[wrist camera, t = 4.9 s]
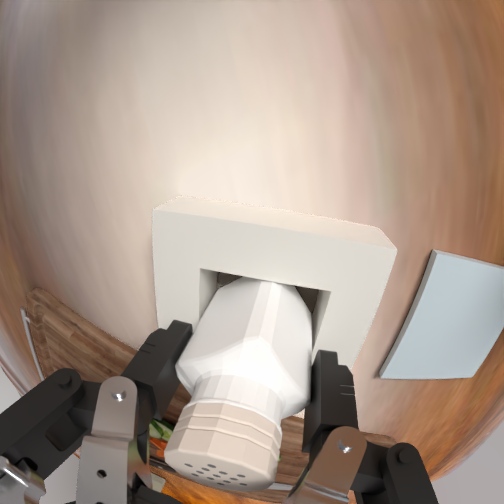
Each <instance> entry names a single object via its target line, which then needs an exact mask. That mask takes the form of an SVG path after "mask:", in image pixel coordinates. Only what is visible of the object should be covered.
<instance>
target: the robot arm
mask: <svg viewBox="0 0 504 504" xmlns="http://www.w3.org/2000/svg"><path fill="white" fill-rule="evenodd" d="M192 334H193V327H192V324H190V323H186V322H182V321H179V320H173V321H172V323H171V324H170V326H169V327H168V328H167V330H166V329H162V328H159V329H158V330H156V331H154V332H153V333H151V334H150V335H149V337H148V338H147V339H146V341H145V342H144V344H143V345H142V346H141V348H140V350H139V351H138V352H137V353H136V354H135V356H134V357H133V359H132V360H131V361H130V363H129V364H128V366H127V367H126V368H125V370H124V371H123V373H122V374H121V375H120V376H115V377H111V378H108V379H107V380H105V381H104V382H103V383H98V382H92V381H85V380H82V379H81V377H80V375H79V373H78V372H77V371H75V370H74V369H71V368H62V369H59V370H57V371H55V372H54V373H53V374H51V375H50V376H49V377H47V378H46V379H45V380H43V381H42V382H41V383H39V384H38V385H37V386H36V387H34V388H33V389H32V390H30V391H29V392H28V393H26V394H25V395H24V396H23V397H21V398H20V399H19V400H18V401H16V402H15V403H14V404H13V405H11V406H10V407H9V408H7V409H6V410H5V411H4V412H2V413H1V414H0V504H39V500H40V497H41V496H43V495H45V494H46V489H45V485H44V480H45V479H46V478H47V477H48V476H49V475H50V474H51V473H52V472H53V471H54V470H55V469H56V468H58V467H59V466H60V465H61V464H62V463H63V462H64V461H65V460H66V459H67V458H68V457H69V456H70V455H71V454H73V453H74V452H75V451H76V450H77V449H78V448H79V447H80V446H81V445H82V447H81V453H80V461H79V470H78V479H77V491H76V501H73V502H70V503H66V504H183V503H181V502H180V501H178V500H176V499H174V498H173V497H171V496H169V495H166V494H163V493H160V492H158V491H155V490H153V485H152V477H151V473H150V467H149V436H150V427H149V425H150V423H151V421H152V419H153V418H155V419H158V420H162V418H163V416H164V414H165V412H166V410H167V408H168V406H169V404H170V402H171V400H172V398H173V396H174V394H175V392H176V390H177V388H178V386H179V384H180V382H181V381H180V380H179V378H178V376H177V372H176V368H175V365H176V362H177V360H178V359H179V357H180V355H181V353H182V351H183V350H184V348H185V346H186V344H187V343H188V341H189V339H190V337H191V335H192ZM354 395H355V391H354V382H353V375H352V373H351V372H350V370H349V369H348V367H347V365H338V356H337V352H335V351H327V350H320V349H319V350H318V351H317V354H316V356H315V359H314V362H313V364H312V377H311V402H310V404H309V405H308V406H306V407H305V415H304V429H303V442H302V453H309V462H308V463H307V464H306V466H305V468H304V469H303V471H302V473H301V474H300V476H299V478H298V479H297V481H296V483H295V484H294V486H293V487H292V489H291V490H290V492H289V493H288V495H287V496H286V498H285V499H284V501H283V502H282V503H281V504H348V503H349V498H347V495H348V492H349V490H353V491H354V494H355V498H356V502H357V504H439V503H438V501H437V498H436V495H435V492H434V490H433V487H432V484H431V482H430V479H429V476H428V474H427V471H426V469H425V466H424V464H423V461H422V459H421V457H420V454H419V452H418V450H417V449H416V448H415V447H414V446H413V445H411V444H409V443H397V444H395V445H393V446H392V447H391V448H388V447H384V446H380V445H377V444H374V443H371V442H369V441H368V440H366V438H365V436H364V435H363V433H362V432H360V431H359V428H358V420H357V409H356V400H355V396H354ZM104 477H105V478H104Z"/></svg>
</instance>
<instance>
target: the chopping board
mask: <svg viewBox="0 0 504 504" xmlns="http://www.w3.org/2000/svg"><path fill="white" fill-rule="evenodd" d="M26 304H27V311H28V315H29V317H28V316H27V312H26V309H25V308H24V307H23V306H21V307H20V310H21V314H22V319H23V323H24V327H25V331H26V334H27V338H28V341H29V345H30V348H31V351H32V355H33V358H34V361H35V364H36V367H37V369H38V372H39V375H40V378H41V380H42V381H43V380H45V377H46V378H47V377H49V376H50V375H51V374H53V373H54V372H55V371H57V370H59V369H62V368H71V369H74V370H75V371H77V372H78V373H79V375H80V377H81V379H82V380H85V381H92V382H98V383H103V382H104V381H105V380H107V379H108V378H111V377H115V376H120V375H121V374H122V373H123V371H124V370H125V368H126V367H127V366H128V364H129V363H130V361H131V360H132V359H133V357H134V356H135V354H136V353H137V352H138V351H136V350H134V349H133V348H131V347H129V346H127V345H126V344H124V343H122V342H121V341H119V340H117V339H116V338H114V337H112V336H111V335H109V334H107V333H106V332H104V331H103V330H101V329H99V328H98V327H96V326H95V325H93V324H92V323H90V322H89V321H87V320H86V319H84V318H83V317H81V316H80V315H78V314H77V313H75V312H74V311H73V310H71V309H70V308H68V307H67V306H66V305H64V304H63V303H62V302H60V301H59V300H58V299H56V298H55V297H54V296H52V295H51V294H50V293H48V292H47V291H45V290H43V289H41V288H34V289H32V290H31V291H30V292H29V293H28V295H27V296H26ZM29 323H30V325H31V329H32V333H33V337H34V341H35V344H36V348H37V352H38V355H39V358H40V362H41V365H42V368H43V371H44V374H45V377H44V374H43V371H42V368H41V365H40V362H39V359H38V356H37V352H36V349H35V345H34V342H33V338H32V334H31V330H30V326H29ZM191 398H192V396H191V395H190V394H189V392H188V391H187V390H186V388H185V387H184V385H183V384H182V383H181V382H180V384H179V386H178V388H177V390H176V392H175V394H174V396H173V398H172V400H171V402H170V404H169V406H168V408H167V410H166V412H165V414H164V416H163V418H162V420H158V419H155V418H153V419H152V421H151V423H150V425H149V427H150V436H149V465H152V466H155V467H157V468H159V469H161V470H164V471H166V472H169V473H171V474H173V475H176V476H178V477H181V478H184V479H186V480H189V481H192V482H195V483H197V484H200V485H203V486H206V487H210V488H213V489H216V490H219V491H223V492H226V493H230V494H234V495H238V496H242V497H246V498H251V499H255V500H260V501H265V502H272V503H282V502H283V501H284V499H285V498H286V496H287V495H288V493H289V492H290V490H291V489H292V487H293V486H294V484H295V483H296V481H297V479H298V478H299V476H300V474H301V473H302V471H303V469H304V468H305V466H306V464H307V463H308V462H309V453H302V442H303V429H304V419H302V418H299V417H295V416H289V417H287V418H284V419H281V424H280V427H281V429H282V440H281V447H280V449H279V450H280V454H279V459H278V460H277V462H278V466H277V473H276V479H275V482H274V483H273V484H272V485H271V486H270V487H268V488H267V489H266V490H259V491H250V492H242V491H232V490H223V489H219V488H216V487H212V486H208V485H205V484H201V483H199V482H196V481H194V480H192V479H190V478H188V477H186V476H184V475H181V474H179V473H178V472H177V471H176V470H174V469H173V468H172V467H171V466H169V465H168V464H167V463H166V462H165V456H164V450H165V448H166V446H167V444H168V441H169V439H170V437H171V435H172V434H173V430H174V428H175V426H176V424H177V423H178V419H179V417H180V415H181V413H182V410H183V408H184V407H185V406H186V405H187V404H188V403H190V400H191ZM362 433H363V435H364V436H365V438H366V440H368V441H369V442H371V443H374V444H377V445H380V446H384V447H388V448H391V447H392V446H393V445H395V444H396V441H395V440H394V438H392V437H389V436H386V435H378V434H372V433H366V432H362Z"/></svg>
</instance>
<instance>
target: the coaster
mask: <svg viewBox="0 0 504 504" xmlns="http://www.w3.org/2000/svg"><path fill="white" fill-rule="evenodd" d="M503 327H504V267H503V266H499V265H495V264H492V263H488V262H484V261H480V260H476V259H472V258H468V257H464V256H460V255H456V254H452V253H447V252H443V251H439V250H435V249H433V250H432V253H431V256H430V259H429V262H428V265H427V268H426V271H425V274H424V276H423V279H422V282H421V284H420V287H419V290H418V292H417V295H416V297H415V299H414V302H413V304H412V307H411V309H410V311H409V314H408V316H407V318H406V320H405V322H404V325H403V327H402V329H401V331H400V333H399V335H398V337H397V339H396V341H395V343H394V345H393V347H392V349H391V351H390V353H389V355H388V357H387V359H386V360H385V362H384V364H383V366H382V368H381V370H380V371H379V374H380V378H388V379H450V378H467V377H473V375H474V374H475V373H476V371H477V370H478V368H479V367H480V365H481V364H482V362H483V361H484V359H485V358H486V356H487V355H488V353H489V351H490V350H491V348H492V347H493V345H494V343H495V342H496V340H497V338H498V336H499V335H500V333H501V331H502V329H503Z"/></svg>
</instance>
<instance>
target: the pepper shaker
mask: <svg viewBox="0 0 504 504" xmlns="http://www.w3.org/2000/svg"><path fill="white" fill-rule="evenodd" d="M175 368H176V372H177V376H178V378H179V380H180V381H181V383H182V384H183V385H184V387H185V388H186V390H187V391H188V392H189V394H190V395H191V396H192V398H191V400H190V403H188V404H187V405H186V406H185V407H184V408H183V410H182V413H181V415H180V417H179V419H178V423H177V424H176V426H175V428H174V430H173V434H172V435H171V437H170V439H169V441H168V444H167V446H166V448H165V450H164V456H165V462H166V463H167V464H168V465H169V466H171V467H172V468H173V469H174V470H176V471H177V472H178V473H179V474H181V475H184V476H186V477H188V478H190V479H192V480H194V481H196V482H199V483H201V484H205V485H208V486H212V487H216V488H219V489H223V490H232V491H242V492H250V491H259V490H266V489H267V488H268V487H270V486H271V485H272V484H273V483H274V482H275V479H276V473H277V466H278V462H277V460H278V459H279V454H280V450H279V449H280V447H281V440H282V429H281V427H280V424H281V419H284V418H287V417H289V416H292V415H294V414H297V413H299V412H301V411H302V410H303V409H304V408H305V407H306V406H308V405H309V404H310V402H311V377H312V316H311V313H310V311H309V309H308V308H307V306H306V304H305V303H304V301H303V299H302V298H301V296H300V295H299V293H298V291H297V290H296V288H295V286H294V285H290V284H284V283H278V282H273V281H267V280H261V279H256V278H250V277H245V276H243V277H241V278H239V279H237V280H235V281H233V282H231V283H229V284H227V285H225V286H223V287H221V288H219V289H218V291H217V292H216V293H215V294H214V296H213V298H212V300H211V302H210V303H209V305H208V307H207V309H206V310H205V312H204V314H203V316H202V317H201V319H200V321H199V323H198V324H197V326H196V328H195V330H194V332H193V334H192V335H191V337H190V339H189V341H188V343H187V344H186V346H185V348H184V350H183V351H182V353H181V355H180V357H179V359H178V360H177V362H176V365H175Z"/></svg>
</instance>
